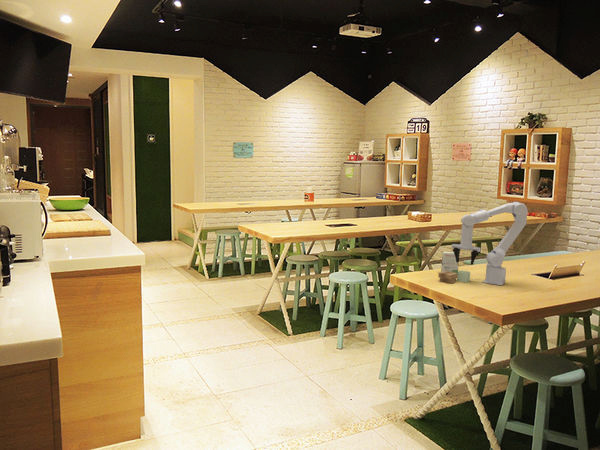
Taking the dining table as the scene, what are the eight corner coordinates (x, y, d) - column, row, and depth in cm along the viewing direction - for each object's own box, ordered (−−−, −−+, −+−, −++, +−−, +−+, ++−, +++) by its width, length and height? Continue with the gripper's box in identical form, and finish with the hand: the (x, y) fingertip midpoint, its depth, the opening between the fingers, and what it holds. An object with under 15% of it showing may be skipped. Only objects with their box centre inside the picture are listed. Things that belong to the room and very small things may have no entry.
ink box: (442, 273, 283) (443, 253, 281) (440, 271, 288) (442, 251, 286) (458, 274, 282) (459, 253, 280) (456, 272, 287) (457, 252, 286)
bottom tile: (455, 281, 268) (455, 277, 268) (453, 284, 262) (453, 280, 261) (442, 280, 271) (442, 275, 271) (439, 282, 265) (439, 278, 264)
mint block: (469, 281, 269) (470, 271, 268) (466, 282, 265) (467, 273, 264) (460, 279, 272) (460, 270, 271) (457, 281, 268) (457, 271, 267)
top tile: (457, 278, 266) (457, 273, 266) (450, 280, 261) (450, 275, 261) (445, 275, 271) (445, 270, 271) (438, 277, 266) (438, 272, 266)
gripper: (450, 237, 266) (448, 262, 268) (478, 240, 258) (476, 266, 260) (455, 235, 272) (453, 260, 274) (482, 238, 263) (480, 264, 265)
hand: (464, 263), depth 267 cm, fingers open, 7 cm apart
